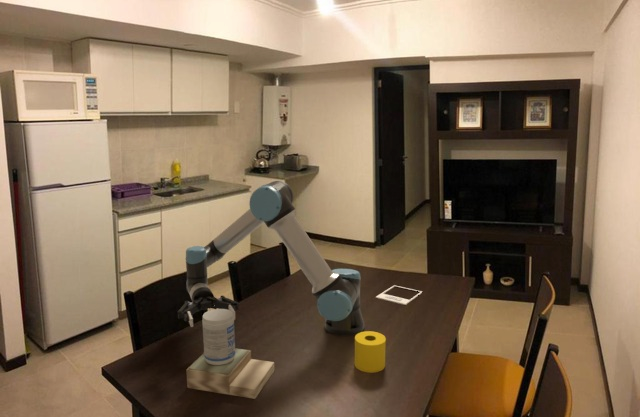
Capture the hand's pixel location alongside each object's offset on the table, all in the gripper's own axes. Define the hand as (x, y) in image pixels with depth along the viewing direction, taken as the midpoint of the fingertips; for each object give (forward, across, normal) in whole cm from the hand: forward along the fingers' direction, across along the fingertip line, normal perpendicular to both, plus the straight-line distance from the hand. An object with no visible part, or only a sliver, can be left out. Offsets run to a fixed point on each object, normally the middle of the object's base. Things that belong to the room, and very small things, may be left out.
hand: (213, 319), depth 155 cm
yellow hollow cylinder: (+20, -47, -16) cm, 53 cm away
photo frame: (-29, -89, -17) cm, 95 cm away
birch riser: (+11, -3, -16) cm, 20 cm away
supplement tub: (+8, 0, -10) cm, 13 cm away
